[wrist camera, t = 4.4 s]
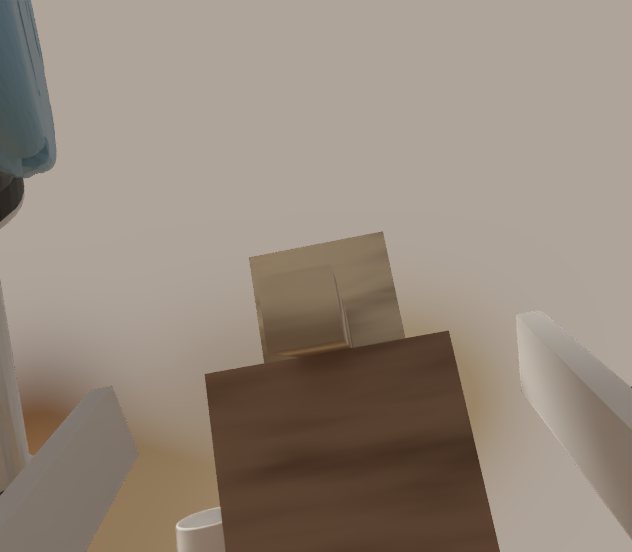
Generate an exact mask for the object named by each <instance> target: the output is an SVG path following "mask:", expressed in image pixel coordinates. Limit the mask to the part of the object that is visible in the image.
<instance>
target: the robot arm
mask: <svg viewBox="0 0 632 552" xmlns="http://www.w3.org/2000/svg"><path fill="white" fill-rule="evenodd" d="M44 75H45V74H44V65H43V59H42V53H41V48H40V43H39V38H38V33H37V29H36V23H35V19H34V14H33V9H32V4H31V0H0V229H1V228H2V227H3V226H5V225H6V224H7V223H8V222H9V221H10V220H11V219H12V218H13V217H14V216H15V215H16V214H17V212H18V211H19V209H20V208H21V206H22V203H23V199H24V183H23V178H29V177H31V176H33V175H35V174H37V173H44V172H46V171H48V170H50V169H51V168H52V167H53V166H54V164H55V161H56V144H55V131H54V123H53V117H52V110H51V105H50V102H49V95H48V90H47V84H46V79H45V76H44ZM516 323H517V337H518V338H517V339H518V354H519V368H520V383H521V391H522V393H523V394H524V395H525V397H526V398H527V399H528V401H529V402H530V404H531V405H532V406H533V407H534V409H535V410H536V412H537V413H538V414H539V416H540V417H541V418H542V420H543V421H544V422H545V424H546V425H547V426H548V428H549V429H550V430H551V432H552V433H553V434H554V436H555V437H556V438H557V440H558V441H559V442H560V444H561V445H562V446H563V448H564V449H565V450H566V452H567V453H568V454H569V456H570V457H571V459H572V460H573V461H574V462H575V464H576V465H577V467H578V468H579V469H580V471H581V472H582V473H583V475H584V476H585V477H586V478H587V480H588V481H589V483H590V484H591V485H592V487H593V488H594V490H595V491H596V492H597V494H598V495H599V496H600V498H601V499H602V500H603V502H604V503H605V504H606V505H607V507H608V508H609V510H610V511H611V512H612V514H613V515H614V516H615V517H616V519H617V520H618V522H619V523H620V524H621V526H622V527H623V528H624V530H625V531H626V532H627V534H628V535H629V537H630V538H631V539H632V387H630V386H629V385H627V384H626V383H625V382H624V381H623V380H622V379H620V378H619V377H618V376H617V375H616V374H615V373H614V372H612V371H611V370H610V369H608V368H607V366H605V365H604V364H603V363H602V362H601V361H599V360H598V359H597V358H596V357H594V355H593V354H591V353H590V352H589V351H588V350H587V349H586V348H584V347H583V346H582V345H581V344H580V343H579V342H577V341H576V340H575V339H574V338H573V337H572V336H570V335H569V334H568V333H567V332H566V331H565V330H563V329H562V328H561V327H560V326H559V325H558V324H556V323H555V322H554V321H553V320H552V319H551V318H549V317H548V316H547V315H546V314H545V313H544V312H542V311H534V312H529V313H524V314H517V315H516ZM138 455H139V453H138V450H137V448H136V445H135V442H134V440H133V437H132V435H131V432H130V430H129V427H128V425H127V422H126V420H125V417H124V415H123V412H122V410H121V407H120V405H119V402H118V399H117V397H116V394H115V392H114V389H113V387H112V386H110V387H105V388H99V389H94V390H90V391H89V392H88V393H87V395H86V396H85V397H84V398H83V399H82V400H81V402H80V403H79V404H78V405H77V406H76V408H75V409H74V410H73V411H72V412H71V413H70V415H69V416H68V417H67V418H66V419H65V420H64V421H63V423H62V424H61V425H60V426H59V427H58V429H57V430H56V431H55V432H54V433H53V434H52V436H51V437H50V438H49V439H48V441H46V443H45V444H44V445H43V446H42V447H41V449H40V450H39V451H38V452H37V453H36V454H35V456H33V455H30V454H29V450H28V444H27V438H26V432H25V426H24V420H23V415H22V408H21V402H20V396H19V390H18V384H17V378H16V372H15V366H14V360H13V354H12V348H11V342H10V336H9V330H8V324H7V318H6V312H5V306H4V300H3V294H2V288H1V283H0V552H86V550H87V549H88V547H89V545H90V543H91V541H92V540H93V538H94V535H95V534H96V532H97V530H98V528H99V526H100V525H101V523H102V521H103V519H104V517H105V516H106V514H107V512H108V510H109V508H110V506H111V504H112V503H113V501H114V499H115V497H116V495H117V493H118V492H119V490H120V488H121V486H122V484H123V482H124V481H125V479H126V477H127V475H128V473H129V471H130V469H131V468H132V466H133V464H134V462H135V460H136V458H137V457H138Z"/></svg>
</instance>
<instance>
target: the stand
mask: <svg viewBox="0 0 632 552" xmlns="http://www.w3.org/2000/svg"><path fill="white" fill-rule="evenodd" d="M205 380H206V389H207V398H208V406H209V415H210V423H211V432H212V440H213V449H214V457H215V466H216V474H217V482H218V491H219V499H220V508H221V517H222V525H223V534H224V542H225V551H226V552H500V550H499V546H498V542H497V537H496V533H495V529H494V524H493V520H492V516H491V512H490V507H489V503H488V499H487V494H486V490H485V485H484V481H483V477H482V472H481V468H480V464H479V459H478V455H477V451H476V447H475V442H474V438H473V434H472V429H471V425H470V420H469V416H468V412H467V408H466V403H465V399H464V395H463V391H462V386H461V382H460V377H459V373H458V369H457V365H456V360H455V356H454V351H453V347H452V343H451V338H450V334H449V331H444V332H438V333H433V334H427V335H422V336H416V337H411V338H405V339H399V340H394V341H388V342H382V343H377V344H371V345H366V346H360V347H354V348H349V349H343V350H337V351H332V352H326V353H321V354H315V355H309V356H304V357H298V358H293V359H287V360H281V361H276V362H270V363H264V364H259V365H253V366H248V367H242V368H237V369H231V370H225V371H220V372H214V373H209V374H205Z"/></svg>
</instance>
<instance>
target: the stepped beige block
mask: <svg viewBox="0 0 632 552" xmlns="http://www.w3.org/2000/svg"><path fill="white" fill-rule="evenodd" d="M249 261H250V268H251V275H252V281H253V288H254V295H255V302H256V309H257V315H258V323H259V330H260V337H261V343H262V350H263V357H264V363H270V362H276V361H281V360H287V359H293V358H298V357H304V356H309V355H315V354H321V353H326V352H332V351H337V350H343V349H349V348H354V347H360V346H366V345H371V344H377V343H382V342H388V341H394V340H399V339H405V335H404V330H403V325H402V320H401V316H400V311H399V306H398V302H397V298H396V292H395V288H394V282H393V278H392V273H391V268H390V264H389V259H388V254H387V249H386V245H385V240H384V235H383V232H378V233H373V234H367V235H363V236H357V237H352V238H347V239H342V240H337V241H331V242H326V243H321V244H316V245H311V246H306V247H301V248H296V249H290V250H285V251H280V252H275V253H270V254H265V255H260V256H254V257H250V258H249Z"/></svg>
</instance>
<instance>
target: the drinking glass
mask: <svg viewBox="0 0 632 552" xmlns="http://www.w3.org/2000/svg"><path fill="white" fill-rule="evenodd" d="M176 543H177V552H226V551H225V542H224V534H223V525H222V517H221V508H220V507H217V508H212V509H209V510H204V511H201V512H198V513H195V514H192V515H190V516H188V517H186V518H184V519H182V520H181V521H179V522H178V523H177V525H176Z"/></svg>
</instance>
